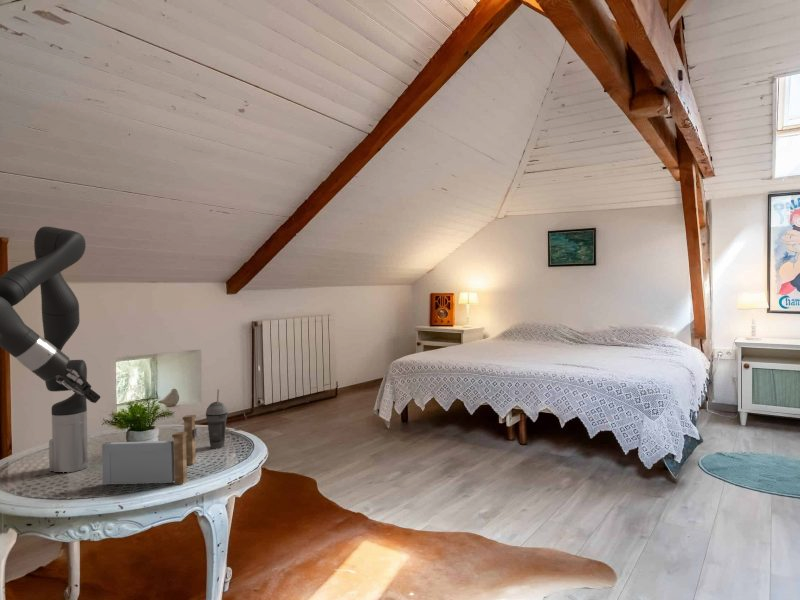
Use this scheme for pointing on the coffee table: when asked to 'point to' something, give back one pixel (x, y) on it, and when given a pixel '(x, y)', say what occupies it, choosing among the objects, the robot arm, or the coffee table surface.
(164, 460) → the gate
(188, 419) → the post
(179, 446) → the hinge post
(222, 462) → the coffee table surface
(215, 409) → the beverage cup
